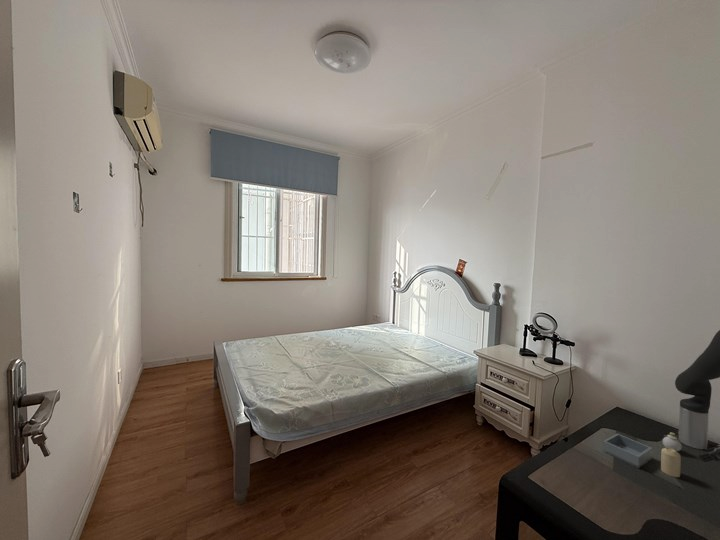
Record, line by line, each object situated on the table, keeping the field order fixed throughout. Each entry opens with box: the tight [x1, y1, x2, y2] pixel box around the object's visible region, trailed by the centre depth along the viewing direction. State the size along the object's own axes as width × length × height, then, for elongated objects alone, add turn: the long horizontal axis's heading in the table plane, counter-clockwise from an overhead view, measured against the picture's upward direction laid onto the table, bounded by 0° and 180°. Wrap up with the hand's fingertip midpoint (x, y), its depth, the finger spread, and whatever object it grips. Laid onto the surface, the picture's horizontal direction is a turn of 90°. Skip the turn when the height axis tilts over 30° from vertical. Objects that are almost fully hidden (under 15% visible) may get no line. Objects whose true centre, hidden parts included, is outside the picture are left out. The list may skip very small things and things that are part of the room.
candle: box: [660, 447, 682, 478], centre depth 122 cm, size 6×6×10 cm
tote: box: [602, 433, 653, 469], centre depth 133 cm, size 14×13×5 cm
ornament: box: [662, 431, 685, 452], centre depth 136 cm, size 6×8×10 cm
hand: (705, 455), depth 113 cm, fingers open, 8 cm apart
